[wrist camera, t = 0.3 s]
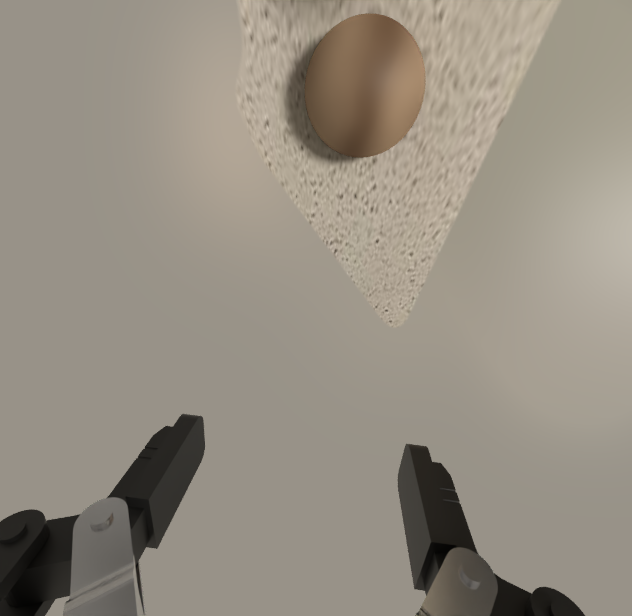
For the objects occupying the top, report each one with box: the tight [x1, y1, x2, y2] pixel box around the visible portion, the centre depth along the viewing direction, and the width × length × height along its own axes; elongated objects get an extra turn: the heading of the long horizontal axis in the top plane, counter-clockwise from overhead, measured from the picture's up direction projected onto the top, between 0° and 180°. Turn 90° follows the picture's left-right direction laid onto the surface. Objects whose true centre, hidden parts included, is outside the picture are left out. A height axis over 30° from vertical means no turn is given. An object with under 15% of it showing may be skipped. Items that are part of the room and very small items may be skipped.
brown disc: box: [305, 14, 425, 157], centre depth 28 cm, size 10×10×2 cm
